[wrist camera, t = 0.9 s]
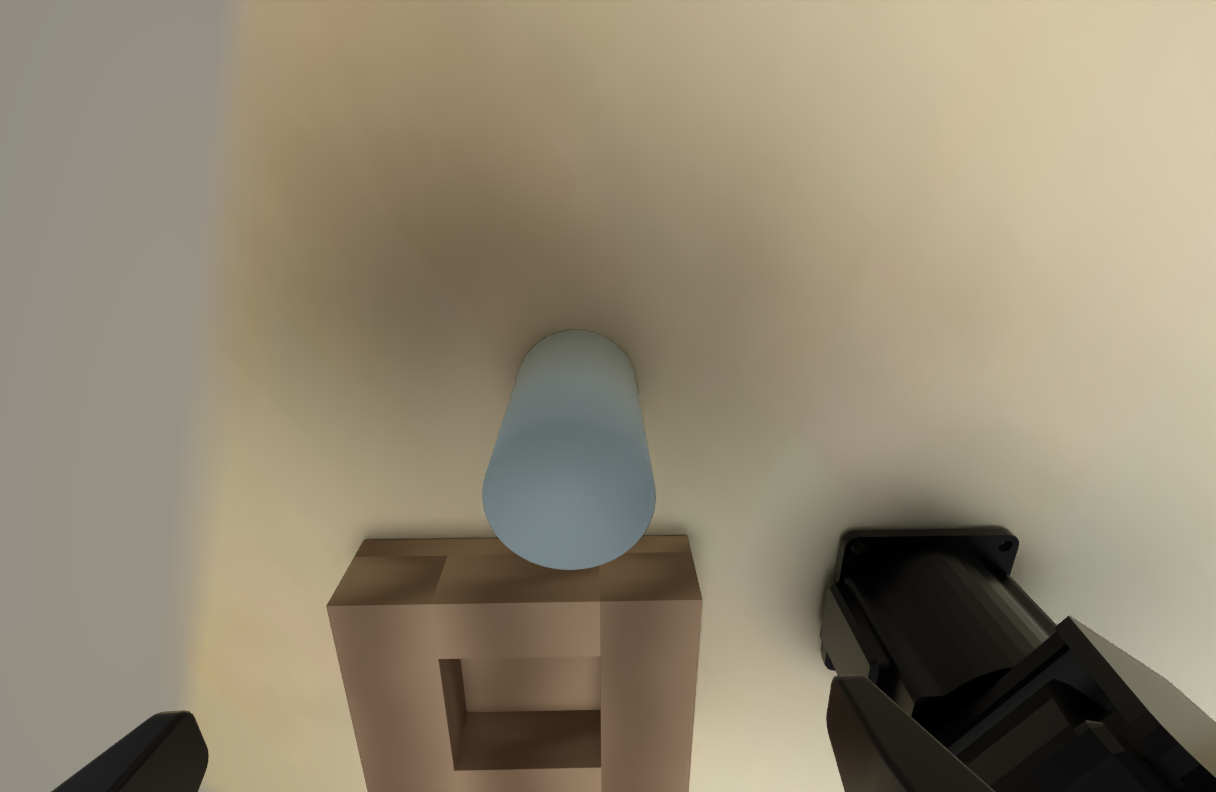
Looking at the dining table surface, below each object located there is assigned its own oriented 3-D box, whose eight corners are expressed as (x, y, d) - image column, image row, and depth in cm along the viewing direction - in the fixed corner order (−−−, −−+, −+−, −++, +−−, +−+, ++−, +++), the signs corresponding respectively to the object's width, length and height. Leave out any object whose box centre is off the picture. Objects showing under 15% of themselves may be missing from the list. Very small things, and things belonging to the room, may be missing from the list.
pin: (637, 329, 20) (658, 420, 14) (635, 439, 22) (653, 568, 15) (513, 330, 20) (475, 422, 13) (520, 441, 21) (489, 571, 15)
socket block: (687, 535, 23) (702, 600, 20) (676, 727, 27) (687, 807, 24) (364, 540, 23) (326, 605, 20) (399, 732, 27) (372, 814, 23)
